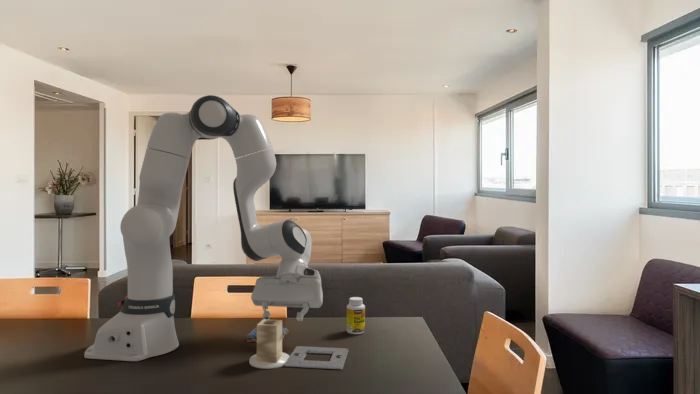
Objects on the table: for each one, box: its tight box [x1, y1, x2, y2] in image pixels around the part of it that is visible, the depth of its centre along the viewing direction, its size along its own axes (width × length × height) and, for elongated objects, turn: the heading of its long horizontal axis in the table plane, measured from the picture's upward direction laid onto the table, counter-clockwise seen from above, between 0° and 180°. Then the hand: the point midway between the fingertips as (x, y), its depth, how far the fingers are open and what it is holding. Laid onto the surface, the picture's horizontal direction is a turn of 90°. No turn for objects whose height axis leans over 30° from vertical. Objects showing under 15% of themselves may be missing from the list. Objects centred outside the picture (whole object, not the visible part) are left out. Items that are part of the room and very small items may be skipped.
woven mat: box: [246, 326, 290, 343], centre depth 129 cm, size 10×11×2 cm
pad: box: [248, 351, 290, 370], centre depth 110 cm, size 10×10×1 cm
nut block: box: [256, 318, 283, 363], centre depth 110 cm, size 5×5×9 cm
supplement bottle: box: [346, 296, 366, 335], centre depth 133 cm, size 6×6×10 cm
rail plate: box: [284, 345, 349, 370], centre depth 112 cm, size 14×12×1 cm
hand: (282, 319), depth 121 cm, fingers open, 8 cm apart
